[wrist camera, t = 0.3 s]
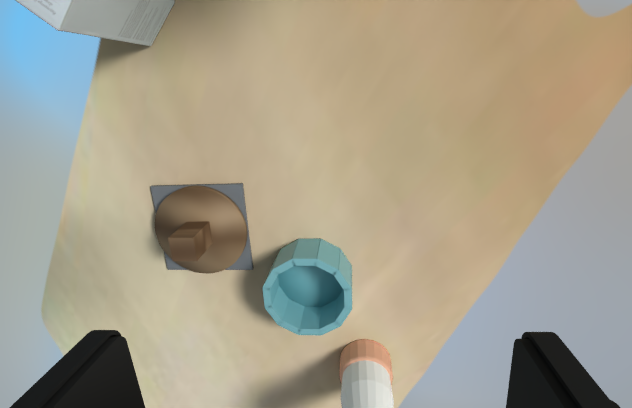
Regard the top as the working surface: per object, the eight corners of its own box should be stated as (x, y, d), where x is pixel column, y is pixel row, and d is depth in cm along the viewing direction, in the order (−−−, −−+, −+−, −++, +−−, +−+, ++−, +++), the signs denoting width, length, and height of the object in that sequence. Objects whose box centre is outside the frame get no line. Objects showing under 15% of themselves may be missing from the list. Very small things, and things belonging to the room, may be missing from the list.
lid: (150, 186, 46) (122, 201, 40) (241, 184, 45) (225, 199, 39) (167, 269, 50) (144, 293, 44) (252, 269, 49) (239, 294, 43)
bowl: (269, 238, 47) (259, 258, 42) (351, 238, 46) (350, 258, 41) (276, 308, 51) (267, 334, 46) (352, 309, 50) (352, 335, 45)
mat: (151, 185, 46) (150, 186, 46) (242, 183, 45) (241, 184, 45) (169, 268, 50) (167, 269, 50) (253, 268, 49) (252, 269, 49)
